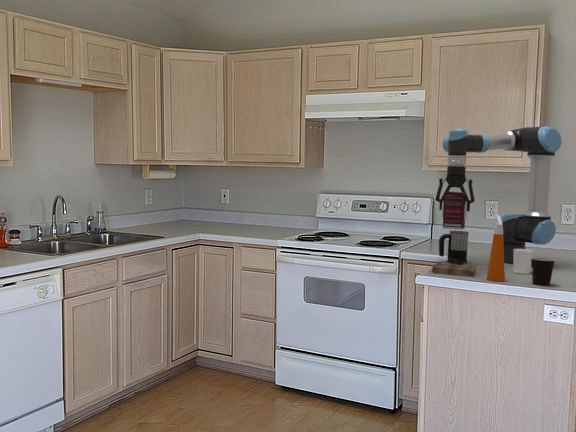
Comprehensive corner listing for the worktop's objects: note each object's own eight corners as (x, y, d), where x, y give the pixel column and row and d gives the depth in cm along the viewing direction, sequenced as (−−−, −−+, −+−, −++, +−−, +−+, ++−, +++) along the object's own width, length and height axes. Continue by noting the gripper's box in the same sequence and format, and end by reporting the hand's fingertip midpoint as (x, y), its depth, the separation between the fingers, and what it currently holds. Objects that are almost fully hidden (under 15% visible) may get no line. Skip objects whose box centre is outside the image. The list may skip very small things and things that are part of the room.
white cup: (535, 274, 260) (536, 251, 259) (519, 274, 258) (521, 251, 257) (523, 270, 268) (524, 248, 267) (508, 271, 266) (509, 248, 265)
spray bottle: (501, 277, 251) (505, 214, 249) (506, 282, 240) (510, 216, 238) (483, 276, 252) (487, 213, 250) (488, 281, 242) (491, 216, 239)
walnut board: (475, 272, 261) (476, 266, 261) (473, 276, 250) (473, 270, 250) (436, 268, 268) (436, 262, 268) (432, 272, 257) (432, 267, 256)
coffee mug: (548, 287, 233) (550, 261, 232) (526, 283, 238) (527, 258, 237) (558, 283, 241) (560, 258, 240) (536, 279, 247) (538, 255, 246)
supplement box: (464, 228, 259) (466, 192, 257) (462, 229, 254) (464, 192, 253) (444, 227, 263) (446, 191, 261) (441, 228, 258) (443, 191, 257)
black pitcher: (459, 260, 293) (461, 230, 292) (480, 265, 278) (482, 234, 277) (434, 261, 288) (436, 230, 287) (454, 267, 273) (456, 234, 272)
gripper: (429, 165, 257) (427, 217, 259) (482, 166, 248) (479, 220, 251) (432, 165, 264) (430, 216, 266) (483, 166, 255) (480, 219, 257)
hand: (454, 218), depth 258 cm, fingers closed on supplement box, 9 cm apart
